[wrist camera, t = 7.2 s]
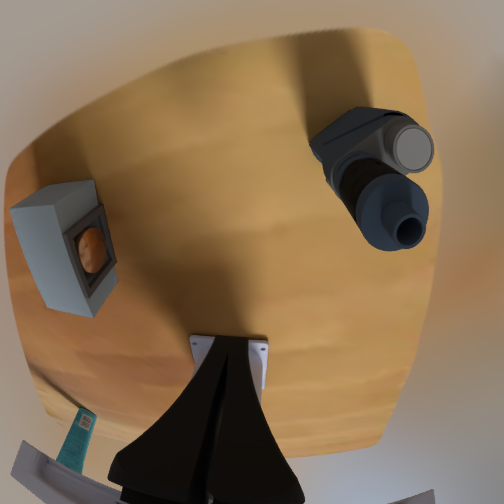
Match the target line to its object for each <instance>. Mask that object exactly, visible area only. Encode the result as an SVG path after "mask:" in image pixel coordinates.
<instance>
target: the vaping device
mask: <svg viewBox="0 0 504 504" xmlns="http://www.w3.org/2000/svg"><path fill="white" fill-rule="evenodd" d="M309 146H310V147H311V149H312V152H313V154H314V155H315V157H316V158H317V159H318V160H319V161H320V162H321V163H322V165H323V171H324V174H325V177H326V182H327V183H328V184H329V186H330V187H331V188H332V189H333V191H334V192H335V194H336V195H337V197H338V198H339V199H340V200H342V202H343V203H344V205H345V206H346V208H347V209H348V211H349V213H350V214H351V216H352V217H353V219H354V221H355V222H356V224H357V226H358V227H359V229H360V231H361V232H362V234H363V236H364V237H365V239H366V240H367V241H368V243H369V244H371V245H372V246H373V247H375V248H377V249H379V250H383V251H397V250H400V249H410V248H413V247H415V246H416V245H417V244H419V243H420V241H421V240H422V239H423V237H424V235H425V231H426V223H427V220H428V214H429V205H428V200H427V197H426V195H425V193H424V191H423V190H422V189H421V188H420V186H419V185H417V184H416V183H415V182H413V181H412V180H410V179H409V178H407V177H406V176H405V175H407V174H408V173H419V172H422V171H423V170H425V169H426V168H427V167H428V166H429V165H430V163H431V161H432V159H433V156H434V143H433V140H432V138H431V136H430V134H429V133H428V132H427V130H425V129H424V128H423V127H421V126H419V124H418V123H417V122H415V121H414V120H413V119H412V118H411V117H409V116H408V115H407V114H405V113H402V112H399V111H394V110H386V109H378V108H369V107H356V108H354V109H352V110H350V111H348V112H347V113H345V114H344V115H343V116H341V117H340V118H339V119H337V120H336V121H335V122H333V123H332V124H331V125H329V126H328V127H327V128H325V129H324V130H323V131H322V132H320V133H319V134H318V135H316V136H315V137H314V138H313V139H312V140H311V141H310V144H309Z"/></svg>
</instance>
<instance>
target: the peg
mask: <svg viewBox="0 0 504 504" xmlns="http://www.w3.org/2000/svg"><path fill="white" fill-rule="evenodd" d="M73 241H74V245H75V248H76V251H77V254H78V257H79V260H80V263H81V266H82V269H83V272H87V273H96V272H97V271H99V270H100V268H101V267H102V265H103V263H104V259H105V254H106V243H105V238H104V236H103V233H102V232H101V230H100V229H98V228H96V227H85V228H84V229H83V230H82V231H81V232H80V233H78V234H77V235H76V236H75V237H74V238H73Z"/></svg>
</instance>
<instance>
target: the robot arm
mask: <svg viewBox="0 0 504 504" xmlns="http://www.w3.org/2000/svg"><path fill="white" fill-rule="evenodd" d="M189 340H190V345H191V349H192V353H193V357H194V361H195V368H194V372H193V376H192V380H191V381H190V382H189V384H188V385H187V387H186V388H185V389H184V391H183V392H182V393H181V395H180V396H179V397H178V398H177V400H176V401H175V402H174V403H173V404H172V406H171V407H170V408H169V409H168V410H167V411H166V412H165V413H164V414H163V415H162V416H161V417H160V418H159V419H158V420H157V421H156V422H155V423H154V424H153V425H152V426H151V427H150V428H149V429H148V430H146V431H145V432H144V433H143V434H142V435H141V436H140V437H138V438H137V439H136V440H135V441H133V442H132V443H130V444H129V445H128V446H126V447H125V448H123V449H122V450H121V451H119V452H118V453H117V454H116V456H115V458H114V460H113V462H112V464H111V467H110V471H109V474H108V480H109V481H111V482H113V483H115V484H118V485H120V486H122V487H123V488H122V492H121V491H118V490H116V489H113V488H111V487H108V486H106V485H103V484H101V483H99V482H96V481H94V480H92V479H90V478H88V477H85V476H83V475H81V474H79V473H77V472H75V471H73V470H71V469H69V468H67V467H66V466H64V465H63V464H61V463H59V462H57V461H56V460H54V459H52V458H50V457H49V456H47V455H45V454H44V453H42V452H40V451H39V450H37V449H36V448H35V447H33V446H32V445H30V444H28V443H27V442H26V441H24V440H23V441H22V443H21V446H20V449H19V451H18V454H17V457H16V459H15V462H14V465H13V468H12V471H11V476H12V477H14V478H15V479H16V480H17V481H19V482H20V483H21V484H22V485H23V486H25V487H26V488H27V489H28V490H30V491H31V492H32V493H33V494H35V495H36V496H37V497H38V498H39V499H41V500H42V501H43V502H44V503H46V504H303V503H304V502H305V497H304V493H303V491H302V489H301V486H300V484H299V481H298V479H297V477H296V476H295V474H294V473H293V471H292V469H291V468H290V467H289V465H288V463H287V461H286V460H285V458H284V456H283V454H282V453H281V451H280V449H279V447H278V445H277V443H276V441H275V439H274V437H273V435H272V433H271V431H270V428H269V426H268V424H267V421H266V419H265V416H264V414H263V411H262V408H261V393H262V389H264V388H265V378H266V368H267V358H268V347H269V343H268V342H267V341H265V340H249V339H247V338H245V337H231V336H219V335H217V336H216V337H210V336H200V335H191V336H190V339H189ZM389 504H435V497H434V490H433V489H431V490H429V491H426V492H423V493H420V494H418V495H415V496H412V497H409V498H406V499H403V500H400V501H396V502H393V503H389Z"/></svg>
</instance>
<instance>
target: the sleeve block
mask: <svg viewBox="0 0 504 504" xmlns="http://www.w3.org/2000/svg"><path fill="white" fill-rule="evenodd" d="M9 210H10V214H11V217H12V220H13V224H14V227H15V230H16V233H17V236H18V239H19V242H20V245H21V248H22V250H23V253H24V256H25V258H26V261H27V263H28V266H29V268H30V271H31V273H32V275H33V278H34V280H35V282H36V284H37V287H38V289H39V291H40V293H41V295H42V297H43V299H44V301H45V303H46V305H47V307H48V308H51V309H55V310H59V311H63V312H68V313H72V314H76V315H81V316H85V317H90V318H94V317H95V315H96V314H97V312H98V311H99V309H100V308H101V306H102V304H103V303H104V301H105V300H106V298H107V297H108V295H109V294H110V292H111V291H112V290H113V288H114V287H115V285H116V284H117V282H118V278H117V275H116V272H115V269H114V265H115V264H116V263H117V261H116V257H115V253H114V249H113V246H112V242H111V238H110V233H109V229H108V225H107V220H106V216H105V211H104V206H103V204H101V205H99V204H98V199H97V194H96V189H95V183H94V179H93V180H84V181H75V182H67V183H60V184H52V185H47V186H45V187H43V188H42V189H40V190H38V191H37V192H35V193H33V194H32V195H30V196H28V197H27V198H25V199H24V200H22V201H20V202H19V203H17V204H16V205H14V206H13V207H11V208H10V209H9ZM85 227H96V228H98V229H100V230H101V232H102V233H103V236H104V238H105V243H106V254H105V259H104V263H103V265H102V267H101V268H100V270H99V271H97V272H96V273H87V272H83V269H82V266H81V263H80V260H79V257H78V254H77V251H76V248H75V245H74V241H73V238H74V237H75V236H76V235H77V234H78V233H80V232H81V231H82V230H83V229H84V228H85Z"/></svg>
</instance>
